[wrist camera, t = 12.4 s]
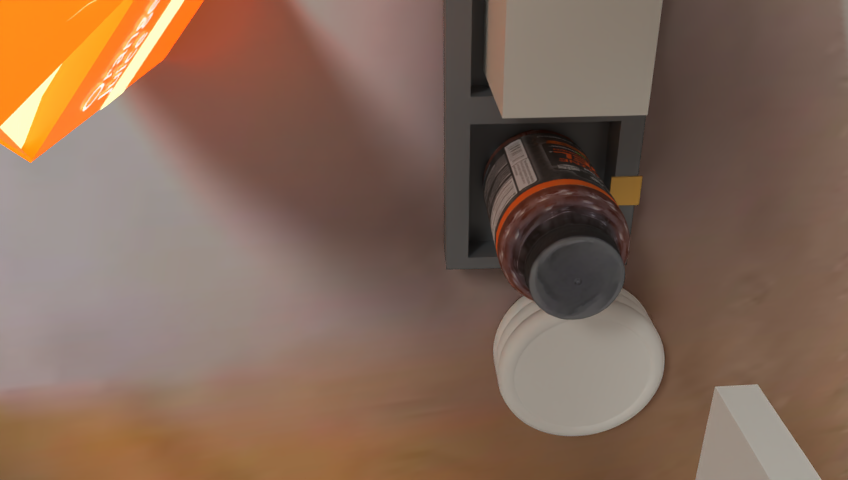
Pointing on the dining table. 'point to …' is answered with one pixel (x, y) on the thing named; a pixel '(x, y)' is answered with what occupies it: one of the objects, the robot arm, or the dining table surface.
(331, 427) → the dining table surface
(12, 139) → the orange juice
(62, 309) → the dining table surface
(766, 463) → the robot arm
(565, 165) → the supplement bottle
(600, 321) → the coaster
